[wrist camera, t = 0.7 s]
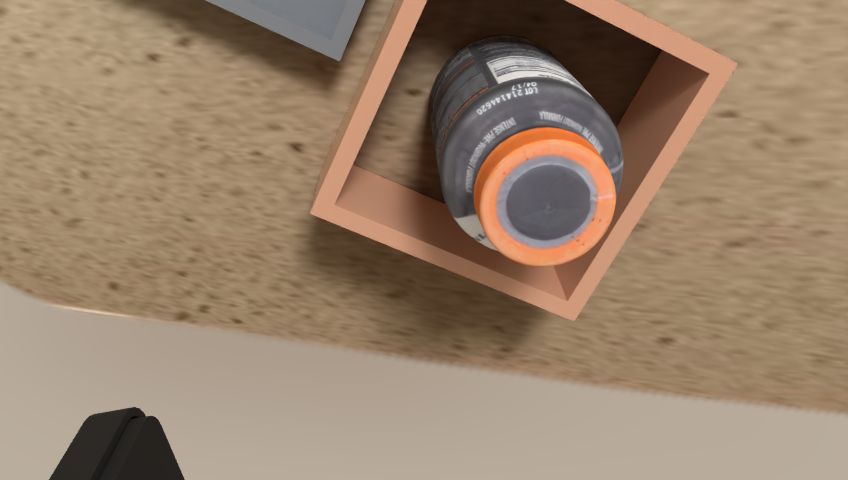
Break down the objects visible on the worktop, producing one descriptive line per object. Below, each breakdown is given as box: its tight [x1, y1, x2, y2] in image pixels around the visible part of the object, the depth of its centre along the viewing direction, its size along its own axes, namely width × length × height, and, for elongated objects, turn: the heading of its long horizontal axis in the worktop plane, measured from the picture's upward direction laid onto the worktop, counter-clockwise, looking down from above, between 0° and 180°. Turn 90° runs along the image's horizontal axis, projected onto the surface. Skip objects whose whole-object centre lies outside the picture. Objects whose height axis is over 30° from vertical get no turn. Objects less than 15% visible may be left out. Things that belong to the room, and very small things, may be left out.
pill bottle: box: [429, 35, 624, 267], centre depth 27 cm, size 6×6×11 cm
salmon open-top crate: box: [310, 0, 738, 321], centre depth 30 cm, size 11×11×5 cm
